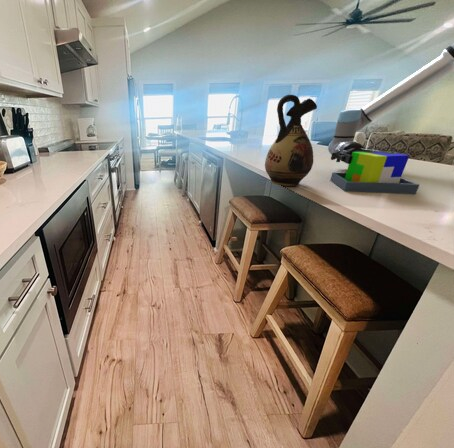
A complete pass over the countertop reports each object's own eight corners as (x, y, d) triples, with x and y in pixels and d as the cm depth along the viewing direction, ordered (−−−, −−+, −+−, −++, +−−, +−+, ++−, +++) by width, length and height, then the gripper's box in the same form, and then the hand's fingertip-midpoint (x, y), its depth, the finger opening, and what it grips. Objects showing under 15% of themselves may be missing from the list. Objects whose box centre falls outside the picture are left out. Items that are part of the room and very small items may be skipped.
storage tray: (390, 182, 86) (393, 173, 85) (415, 194, 74) (419, 184, 73) (330, 180, 92) (332, 172, 91) (344, 191, 79) (346, 182, 78)
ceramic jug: (296, 178, 97) (313, 94, 85) (316, 188, 83) (340, 90, 71) (253, 178, 99) (263, 96, 87) (265, 189, 85) (279, 93, 73)
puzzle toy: (397, 187, 78) (409, 155, 74) (365, 188, 78) (376, 156, 74) (372, 179, 87) (381, 150, 83) (344, 180, 87) (352, 152, 83)
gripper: (383, 160, 98) (416, 172, 79) (312, 160, 105) (328, 170, 87) (389, 141, 94) (425, 148, 76) (316, 142, 102) (333, 148, 83)
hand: (373, 160), depth 81 cm, fingers open, 13 cm apart
